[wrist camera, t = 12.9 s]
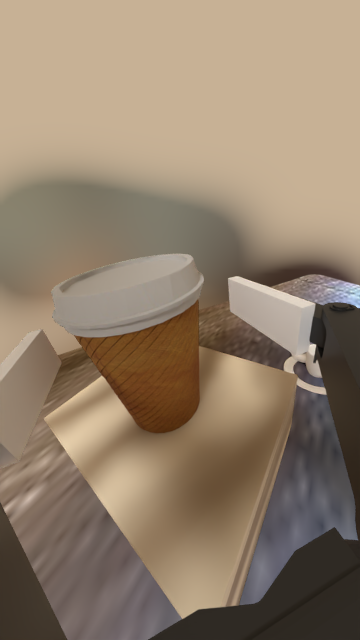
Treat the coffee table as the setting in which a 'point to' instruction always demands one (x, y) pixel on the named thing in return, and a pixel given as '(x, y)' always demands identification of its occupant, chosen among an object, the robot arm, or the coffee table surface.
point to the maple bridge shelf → (188, 474)
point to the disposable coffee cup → (140, 333)
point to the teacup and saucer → (311, 367)
